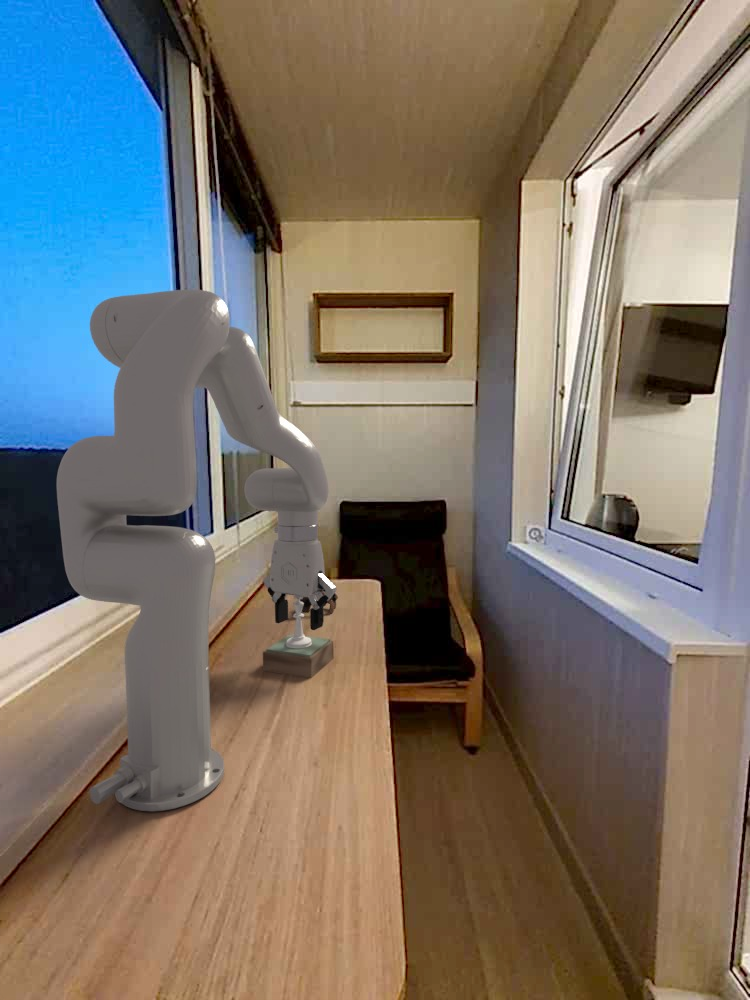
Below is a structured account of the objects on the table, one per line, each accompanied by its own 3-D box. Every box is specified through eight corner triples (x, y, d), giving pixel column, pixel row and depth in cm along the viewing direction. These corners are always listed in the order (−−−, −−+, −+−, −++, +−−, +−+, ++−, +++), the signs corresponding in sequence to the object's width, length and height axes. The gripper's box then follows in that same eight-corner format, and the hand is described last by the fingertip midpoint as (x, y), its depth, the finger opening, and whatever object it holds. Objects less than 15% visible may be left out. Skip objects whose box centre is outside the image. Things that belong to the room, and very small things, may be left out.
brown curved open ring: (306, 606, 147) (321, 580, 146) (331, 627, 142) (347, 600, 142) (281, 606, 136) (297, 578, 135) (307, 628, 132) (324, 599, 131)
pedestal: (311, 677, 98) (311, 656, 98) (263, 670, 102) (262, 649, 101) (333, 658, 108) (333, 638, 107) (288, 652, 111) (288, 633, 111)
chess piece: (307, 649, 101) (306, 597, 101) (282, 647, 102) (281, 595, 102) (315, 640, 106) (314, 590, 105) (291, 639, 107) (290, 589, 106)
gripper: (249, 533, 104) (250, 623, 105) (324, 540, 95) (325, 638, 97) (274, 528, 110) (275, 613, 112) (347, 534, 102) (347, 626, 103)
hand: (298, 624), depth 104 cm, fingers open, 7 cm apart
